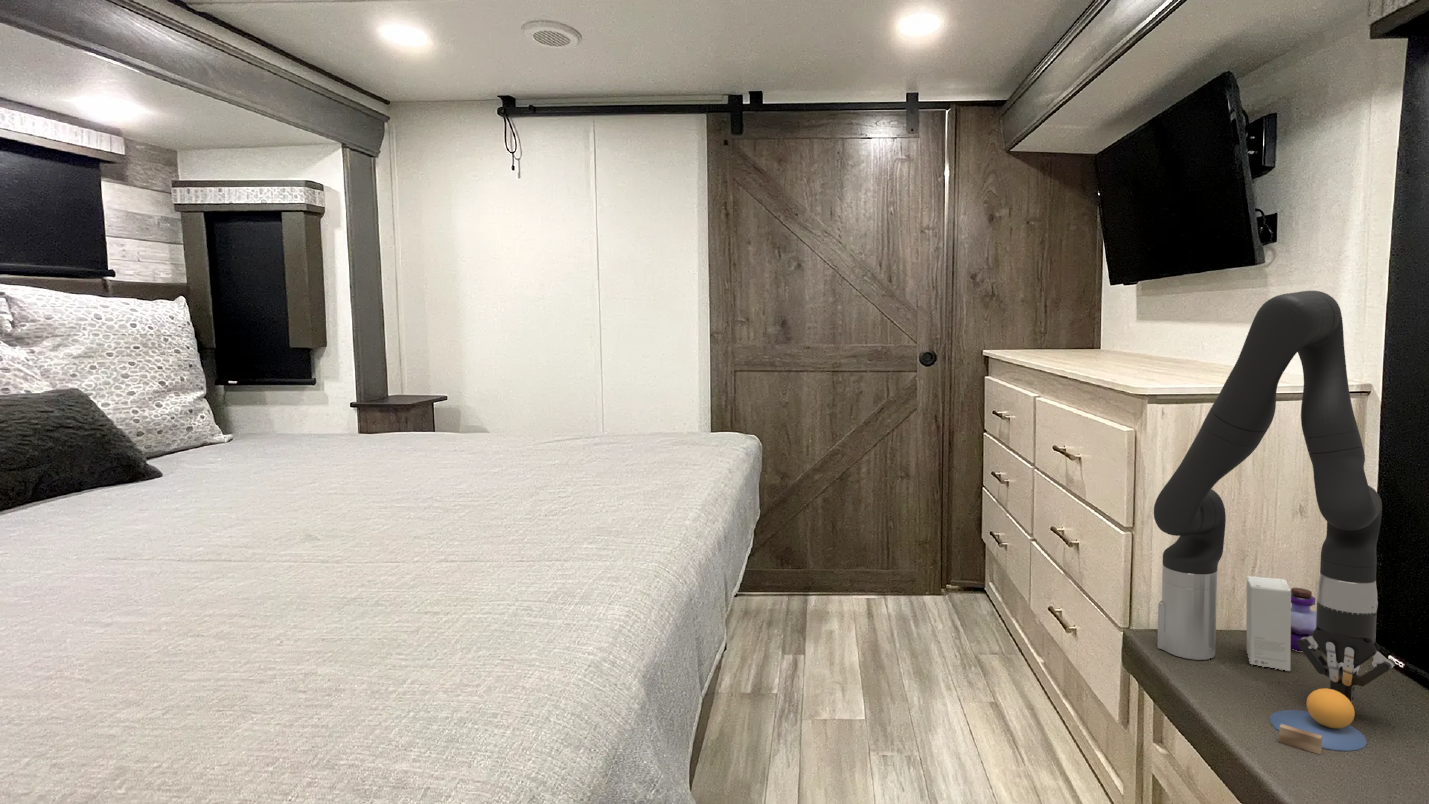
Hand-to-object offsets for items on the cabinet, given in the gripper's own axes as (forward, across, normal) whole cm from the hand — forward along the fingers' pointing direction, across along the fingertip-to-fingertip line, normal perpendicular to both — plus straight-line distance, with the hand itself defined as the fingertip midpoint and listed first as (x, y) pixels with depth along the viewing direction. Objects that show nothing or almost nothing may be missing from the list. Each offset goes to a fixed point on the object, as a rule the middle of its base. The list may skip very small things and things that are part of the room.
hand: (1342, 703), depth 123 cm
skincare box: (+2, -16, +12) cm, 20 cm away
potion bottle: (+2, -14, +24) cm, 28 cm away
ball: (-2, +1, -7) cm, 7 cm away
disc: (+2, 0, -10) cm, 10 cm away
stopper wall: (+2, 0, -18) cm, 18 cm away
